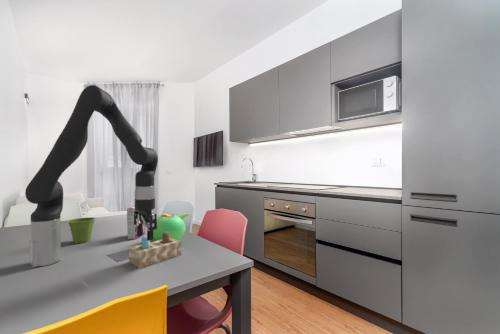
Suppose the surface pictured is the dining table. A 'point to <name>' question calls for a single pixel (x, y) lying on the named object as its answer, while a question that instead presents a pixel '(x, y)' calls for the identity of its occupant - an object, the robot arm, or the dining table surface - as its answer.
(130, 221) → the candy bar box
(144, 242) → the teal peg
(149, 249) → the hole block
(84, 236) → the plant pot
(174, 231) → the toy bird
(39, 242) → the robot arm
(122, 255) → the mat
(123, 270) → the dining table surface
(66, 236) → the dining table surface
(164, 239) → the walnut peg
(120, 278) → the dining table surface
